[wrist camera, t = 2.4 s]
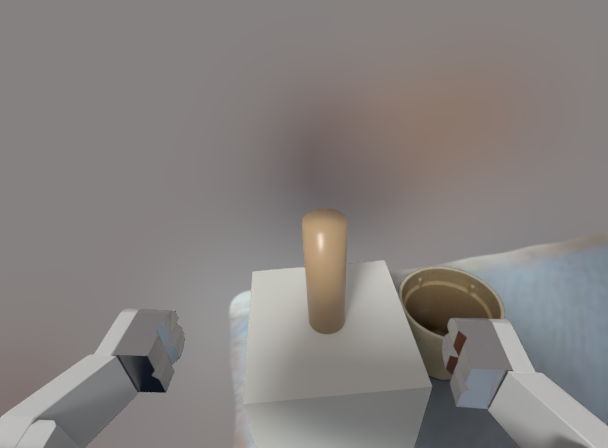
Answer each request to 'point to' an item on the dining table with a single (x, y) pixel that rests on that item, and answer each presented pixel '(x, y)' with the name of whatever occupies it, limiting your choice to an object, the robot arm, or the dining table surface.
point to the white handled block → (331, 351)
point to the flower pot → (443, 308)
